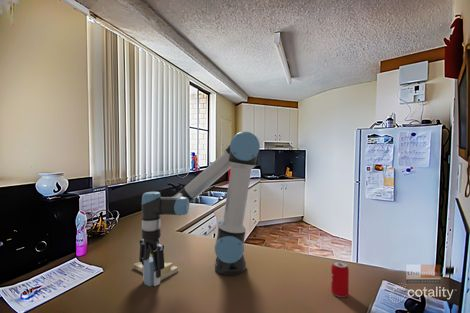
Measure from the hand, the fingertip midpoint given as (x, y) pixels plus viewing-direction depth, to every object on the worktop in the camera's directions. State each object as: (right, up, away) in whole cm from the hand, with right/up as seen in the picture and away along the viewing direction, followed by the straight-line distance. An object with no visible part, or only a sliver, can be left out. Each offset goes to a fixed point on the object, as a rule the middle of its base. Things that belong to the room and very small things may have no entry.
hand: (151, 281), depth 105 cm
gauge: (+2, 0, +3) cm, 4 cm away
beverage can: (+77, -1, -9) cm, 77 cm away
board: (-2, 0, +11) cm, 11 cm away
